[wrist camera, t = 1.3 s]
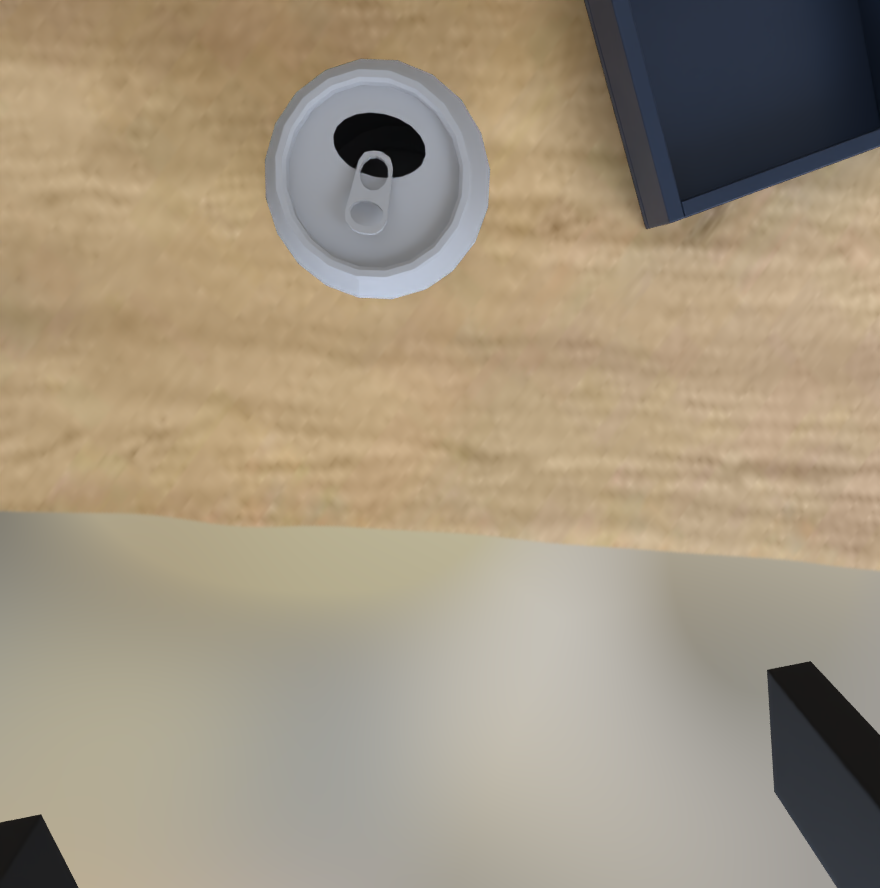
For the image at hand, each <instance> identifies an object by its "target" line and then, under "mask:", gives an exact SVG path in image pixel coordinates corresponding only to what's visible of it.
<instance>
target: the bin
mask: <svg viewBox="0 0 880 888" xmlns="http://www.w3.org/2000/svg"><path fill="white" fill-rule="evenodd" d="M584 1H585V5H586V9H587V13H588V16H589V20H590V24H591V27H592V31H593V35H594V39H595V42H596V46H597V50H598V53H599V57H600V61H601V64H602V68H603V72H604V76H605V79H606V83H607V87H608V90H609V94H610V98H611V101H612V105H613V109H614V113H615V116H616V120H617V124H618V127H619V131H620V135H621V139H622V142H623V146H624V150H625V153H626V157H627V161H628V164H629V168H630V172H631V176H632V179H633V183H634V187H635V190H636V194H637V198H638V202H639V205H640V209H641V213H642V216H643V220H644V224H645V227H646V229H649V228H653V227H657V226H661V225H665V224H669V223H673V222H675V221H678V220H681V219H683V218H686V217H689V216H692V215H695V214H697V213H700V212H703V211H705V210H708V209H711V208H714V207H716V206H719V205H722V204H724V203H727V202H730V201H733V200H735V199H738V198H741V197H744V196H746V195H749V194H752V193H754V192H757V191H760V190H763V189H765V188H768V187H771V186H774V185H776V184H779V183H782V182H784V181H787V180H790V179H793V178H795V177H798V176H801V175H804V174H806V173H809V172H812V171H814V170H817V169H820V168H823V167H825V166H828V165H831V164H834V163H836V162H839V161H842V160H844V159H847V158H850V157H853V156H855V155H858V154H861V153H864V152H866V151H869V150H872V149H874V148H877V147H880V0H584Z"/></svg>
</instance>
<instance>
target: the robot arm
mask: <svg viewBox="0 0 880 888" xmlns="http://www.w3.org/2000/svg"><path fill="white" fill-rule="evenodd" d="M767 677H768V692H769V710H770V727H771V743H772V760H773V777H774V792H775V793H776V795H777V796H778V798H779V799H780V801H781V802H782V804H783V805H784V807H785V809H786V810H787V812H788V813H789V815H790V816H791V818H792V819H793V821H794V822H795V824H796V825H797V827H798V828H799V830H800V831H801V833H802V835H803V836H804V837H805V839H806V841H807V842H808V844H809V845H810V847H811V848H812V850H813V851H814V853H815V854H816V856H817V857H818V859H819V861H820V862H821V864H822V865H823V867H824V868H825V870H826V871H827V873H828V874H829V876H830V877H831V879H832V881H833V882H834V884H835V885H836V886H837V888H880V735H879V734H878V733H877V732H876V731H875V730H874V728H873V727H872V726H871V725H870V724H869V723H868V722H867V721H866V720H865V719H864V718H863V717H862V716H861V715H860V713H859V712H858V711H857V710H856V709H855V708H854V707H853V706H852V705H851V704H850V703H849V702H848V701H847V700H846V699H845V698H844V696H843V695H842V694H841V693H840V692H839V691H838V690H837V689H836V688H835V687H834V686H833V685H832V684H831V683H830V681H829V680H828V679H827V678H826V677H825V676H824V675H823V674H822V673H821V672H820V671H819V670H818V669H817V668H816V667H815V665H814V664H813V663H812V662H811V661H810V662H805V663H800V664H795V665H790V666H785V667H779V668H775V669H770V670H767ZM0 888H78V886H77V884H76V882H75V880H74V878H73V876H72V874H71V872H70V870H69V868H68V866H67V864H66V862H65V860H64V858H63V856H62V855H61V853H60V851H59V849H58V847H57V845H56V843H55V841H54V839H53V837H52V835H51V833H50V831H49V829H48V827H47V825H46V823H45V821H44V819H43V817H42V815H36V816H31V817H26V818H21V819H16V820H11V821H6V822H1V823H0Z"/></svg>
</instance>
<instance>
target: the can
mask: <svg viewBox="0 0 880 888" xmlns="http://www.w3.org/2000/svg"><path fill="white" fill-rule="evenodd" d="M489 178H490V168H489V164H488V160H487V156H486V151H485V147H484V143H483V139H482V135H481V132H480V130H479V129H478V127H477V125H476V124H475V122H474V120H473V119H472V117H471V115H470V114H469V112H468V110H467V109H466V107H465V105H464V104H463V102H462V100H461V99H460V98H459V97H458V96H456V95H455V94H454V93H453V92H452V91H451V90H450V89H448V88H447V87H446V86H445V85H444V84H443V83H441V82H440V81H439V80H438V79H437V78H436V77H435V76H433V75H432V74H430V73H427V72H425V71H422V70H420V69H418V68H415V67H413V66H410V65H408V64H405V63H403V62H400V61H398V60H376V59H359V60H355V61H352V62H349V63H346V64H343V65H340V66H337V67H333V68H330V69H327V70H325V71H324V72H322V73H321V74H320V75H318V76H317V77H316V78H314V79H313V80H312V81H311V82H309V83H308V84H307V85H305V86H304V87H303V88H301V89H300V90H299V91H297V92H296V93H295V95H294V96H293V98H292V99H291V101H290V102H289V104H288V105H287V107H286V108H285V110H284V111H283V113H282V114H281V116H280V117H279V119H278V120H277V122H276V123H275V127H274V130H273V134H272V137H271V141H270V144H269V148H268V151H267V155H266V158H265V181H266V200H267V203H268V206H269V209H270V212H271V215H272V218H273V221H274V224H275V227H276V231H277V234H278V235H279V236H280V238H281V239H282V241H283V242H284V244H285V245H286V247H287V248H288V249H289V251H290V252H291V254H292V255H293V257H294V258H295V259H296V261H297V262H298V264H300V265H301V266H302V267H303V268H305V269H306V270H307V271H308V272H310V273H311V274H312V275H314V276H315V277H316V278H317V279H319V280H320V281H321V282H322V283H324V284H325V285H326V286H329V287H332V288H334V289H337V290H340V291H342V292H345V293H348V294H350V295H353V296H356V297H358V298H382V299H394V298H398V297H401V296H404V295H408V294H411V293H415V292H418V291H422V290H425V289H427V288H428V287H430V286H432V285H433V284H434V283H436V282H437V281H439V280H440V279H442V278H443V277H445V276H446V275H448V274H449V273H450V272H452V271H453V270H454V269H455V267H456V266H457V265H458V264H459V262H460V261H461V260H462V258H463V257H464V256H465V254H466V253H467V252H468V251H469V249H470V248H471V247H472V245H473V244H474V243H475V241H476V238H477V236H478V233H479V230H480V227H481V225H482V222H483V219H484V217H485V214H486V211H487V208H488V196H489Z"/></svg>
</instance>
